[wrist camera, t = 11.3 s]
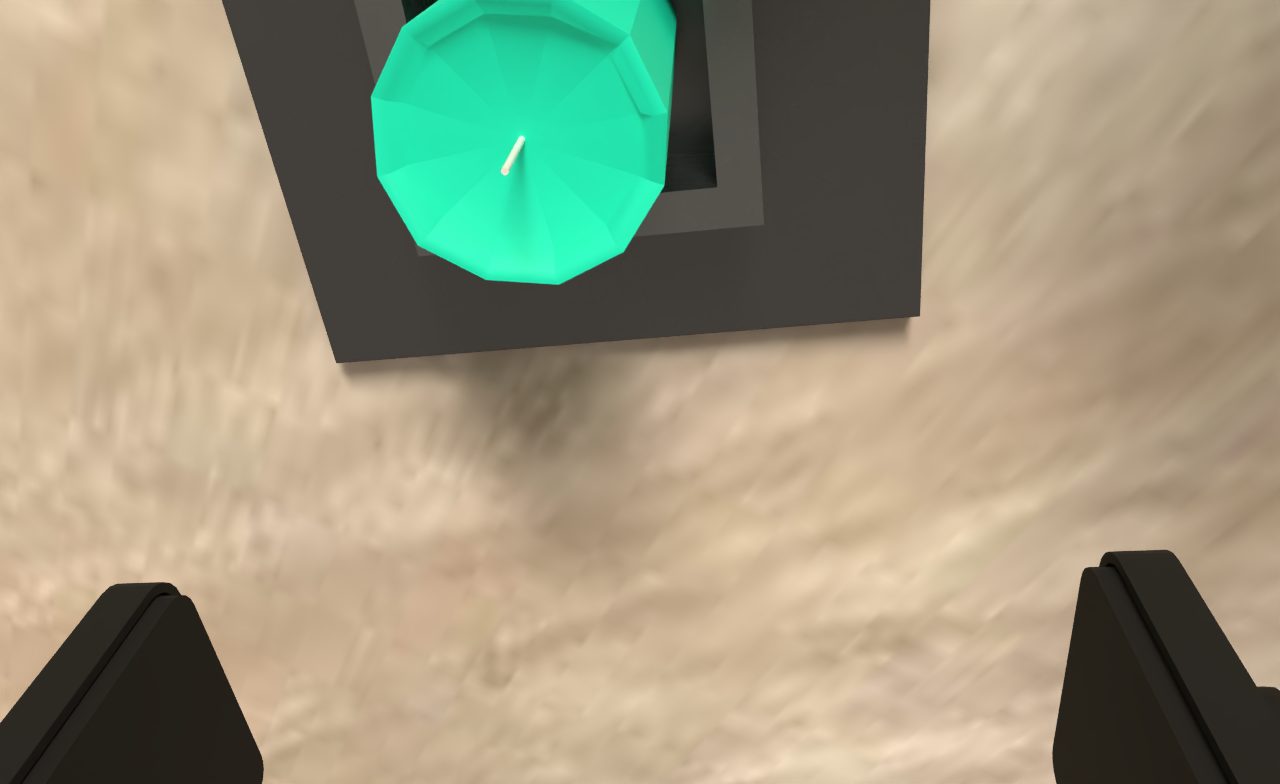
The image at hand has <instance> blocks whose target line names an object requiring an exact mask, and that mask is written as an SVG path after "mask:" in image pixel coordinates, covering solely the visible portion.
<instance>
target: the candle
mask: <svg viewBox="0 0 1280 784" xmlns="http://www.w3.org/2000/svg"><path fill="white" fill-rule="evenodd" d="M676 28H677V13H676V11H675V9H674V7H673V5H672V3H671V1H670V0H438V1H437V2H435V3H434V4H433V5H431V6H430V7H429V8H427V9H426V10H424V11H423V12H422V13H420V14H419V15H418V16H416V17H415V18H414V19H412V20H411V21H410V22H408V23H407V24H405V25H404V26H403V27H402V28H401V30H400V33H399V35H398V37H397V39H396V42H395V44H394V46H393V48H392V51H391V53H390V55H389V57H388V59H387V62H386V64H385V66H384V68H383V71H382V73H381V75H380V77H379V79H378V82H377V84H376V86H375V88H374V91H373V93H372V95H371V105H372V117H373V130H374V143H375V155H376V168H377V177H378V179H379V180H380V182H381V184H382V185H383V187H384V189H385V191H386V192H387V194H388V196H389V197H390V199H391V201H392V202H393V204H394V206H395V208H396V209H397V211H398V213H399V214H400V216H401V218H402V219H403V221H404V223H405V225H406V226H407V228H408V230H409V231H410V233H411V235H412V236H413V238H414V240H415V241H416V243H417V245H418V246H420V247H422V248H424V249H426V250H428V251H430V252H432V253H434V254H436V255H438V256H440V257H442V258H444V259H446V260H448V261H449V262H451V263H453V264H455V265H457V266H459V267H461V268H463V269H465V270H467V271H469V272H471V273H473V274H475V275H477V276H479V277H481V278H483V279H485V280H494V281H509V282H524V283H539V284H554V285H559V284H561V283H563V282H565V281H567V280H569V279H571V278H573V277H575V276H577V275H579V274H581V273H583V272H585V271H587V270H589V269H591V268H593V267H595V266H597V265H599V264H601V263H603V262H605V261H607V260H609V259H611V258H613V257H615V256H617V255H619V254H621V253H623V252H624V251H625V249H626V247H627V246H628V244H629V243H630V241H631V239H632V238H633V236H634V234H635V233H636V231H637V230H638V228H639V226H640V225H641V223H642V221H643V220H644V218H645V216H646V215H647V213H648V212H649V210H650V208H651V207H652V205H653V203H654V202H655V200H656V199H657V197H658V195H659V194H660V192H661V190H662V189H663V187H664V186H665V174H666V163H667V151H668V140H669V128H670V116H671V105H672V93H673V82H674V70H675V49H676Z"/></svg>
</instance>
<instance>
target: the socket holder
mask: <svg viewBox="0 0 1280 784" xmlns="http://www.w3.org/2000/svg"><path fill="white" fill-rule="evenodd" d="M437 1H438V0H222V2H223V5H224V8H225V12H226V15H227V18H228V21H229V24H230V27H231V31H232V34H233V37H234V40H235V43H236V46H237V50H238V53H239V56H240V59H241V62H242V65H243V69H244V72H245V75H246V78H247V81H248V84H249V88H250V91H251V94H252V97H253V100H254V103H255V107H256V110H257V113H258V116H259V119H260V122H261V126H262V129H263V132H264V135H265V138H266V142H267V145H268V148H269V151H270V154H271V157H272V161H273V164H274V167H275V170H276V173H277V176H278V180H279V183H280V186H281V189H282V192H283V195H284V199H285V202H286V205H287V208H288V211H289V214H290V218H291V221H292V224H293V227H294V230H295V233H296V237H297V240H298V243H299V246H300V249H301V252H302V256H303V259H304V262H305V265H306V268H307V271H308V275H309V278H310V281H311V284H312V287H313V290H314V294H315V297H316V300H317V303H318V306H319V309H320V313H321V316H322V319H323V322H324V325H325V328H326V332H327V335H328V338H329V341H330V344H331V347H332V351H333V354H334V357H335V360H336V363H345V362H357V361H370V360H382V359H395V358H407V357H419V356H432V355H444V354H457V353H469V352H482V351H494V350H506V349H519V348H531V347H544V346H556V345H568V344H581V343H593V342H606V341H618V340H631V339H643V338H655V337H668V336H680V335H693V334H705V333H717V332H730V331H742V330H755V329H767V328H780V327H792V326H804V325H817V324H829V323H842V322H854V321H866V320H879V319H891V318H904V317H916V316H920V298H921V267H922V237H923V206H924V176H925V145H926V115H927V85H928V54H929V24H930V0H670V1H671V3H672V5H673V7H674V9H675V11H676V13H677V28H676V49H675V70H674V82H673V93H672V105H671V116H670V128H669V140H668V151H667V163H666V174H665V186H664V187H663V189H662V190H661V192H660V194H659V195H658V197H657V199H656V200H655V202H654V203H653V205H652V207H651V208H650V210H649V212H648V213H647V215H646V216H645V218H644V220H643V221H642V223H641V225H640V226H639V228H638V230H637V231H636V233H635V234H634V236H633V238H632V239H631V241H630V243H629V244H628V246H627V247H626V249H625V251H624V252H623V253H621V254H619V255H617V256H615V257H613V258H611V259H609V260H607V261H605V262H603V263H601V264H599V265H597V266H595V267H593V268H591V269H589V270H587V271H585V272H583V273H581V274H579V275H577V276H575V277H573V278H571V279H569V280H567V281H565V282H563V283H561V284H559V285H554V284H539V283H524V282H509V281H494V280H485V279H483V278H481V277H479V276H477V275H475V274H473V273H471V272H469V271H467V270H465V269H463V268H461V267H459V266H457V265H455V264H453V263H451V262H449V261H448V260H446V259H444V258H442V257H440V256H438V255H436V254H434V253H432V252H430V251H428V250H426V249H424V248H422V247H420V246H418V245H417V243H416V241H415V240H414V238H413V236H412V235H411V233H410V231H409V230H408V228H407V226H406V225H405V223H404V221H403V219H402V218H401V216H400V214H399V213H398V211H397V209H396V208H395V206H394V204H393V202H392V201H391V199H390V197H389V196H388V194H387V192H386V191H385V189H384V187H383V185H382V184H381V182H380V180H379V179H378V177H377V168H376V155H375V143H374V130H373V117H372V105H371V95H372V93H373V91H374V88H375V86H376V84H377V82H378V79H379V77H380V75H381V73H382V71H383V68H384V66H385V64H386V62H387V59H388V57H389V55H390V53H391V51H392V48H393V46H394V44H395V42H396V39H397V37H398V35H399V33H400V30H401V28H402V27H403V26H404V25H405V24H407V23H408V22H410V21H411V20H412V19H414V18H415V17H416V16H418V15H419V14H420V13H422V12H423V11H424V10H426V9H427V8H429V7H430V6H431V5H433V4H434V3H435V2H437Z"/></svg>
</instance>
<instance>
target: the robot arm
mask: <svg viewBox="0 0 1280 784" xmlns="http://www.w3.org/2000/svg"><path fill="white" fill-rule="evenodd" d="M1052 754H1053V768H1054V774H1055V779H1056V783H1057V784H1280V691H1279V690H1278V689H1277V688H1274V687H1257V686H1256V685H1255V683H1254V682H1253V680H1252V678H1251V677H1250V675H1249V673H1248V672H1247V670H1246V669H1245V667H1244V665H1243V664H1242V662H1241V660H1240V659H1239V657H1238V655H1237V654H1236V652H1235V651H1234V649H1233V647H1232V646H1231V644H1230V642H1229V641H1228V639H1227V638H1226V636H1225V634H1224V633H1223V631H1222V629H1221V628H1220V626H1219V625H1218V623H1217V621H1216V620H1215V618H1214V616H1213V615H1212V613H1211V612H1210V610H1209V608H1208V607H1207V605H1206V603H1205V602H1204V600H1203V599H1202V597H1201V595H1200V594H1199V592H1198V590H1197V589H1196V587H1195V586H1194V584H1193V582H1192V581H1191V579H1190V577H1189V576H1188V574H1187V573H1186V571H1185V569H1184V568H1183V566H1182V564H1181V563H1180V561H1179V560H1178V558H1177V557H1176V556H1175V555H1174V554H1173V553H1172V552H1170V551H1168V550H1147V551H1116V552H1107V553H1105V554H1104V555H1103V557H1102V558H1101V562H1100V565H1099V567H1088V568H1085V569H1084V571H1083V573H1082V577H1081V581H1080V587H1079V593H1078V599H1077V605H1076V611H1075V617H1074V623H1073V629H1072V635H1071V641H1070V647H1069V653H1068V659H1067V665H1066V671H1065V677H1064V683H1063V689H1062V695H1061V701H1060V707H1059V713H1058V719H1057V725H1056V731H1055V737H1054V743H1053V753H1052ZM263 771H264V767H263V760H262V756H261V754H260V751H259V749H258V747H257V745H256V742H255V740H254V738H253V736H252V733H251V731H250V729H249V727H248V724H247V722H246V720H245V718H244V715H243V713H242V711H241V709H240V706H239V704H238V702H237V700H236V697H235V695H234V693H233V691H232V688H231V686H230V684H229V682H228V679H227V677H226V675H225V673H224V670H223V668H222V666H221V664H220V661H219V659H218V657H217V655H216V652H215V650H214V648H213V646H212V643H211V641H210V639H209V637H208V634H207V632H206V630H205V628H204V625H203V623H202V621H201V619H200V617H199V614H198V612H197V610H196V608H195V605H194V603H193V602H192V600H191V599H190V598H189V597H187V596H185V595H181V594H180V593H179V591H178V590H177V588H176V587H175V586H173V585H172V584H171V583H164V582H158V583H127V584H116V585H113V586H111V587H109V588H108V589H107V590H106V591H105V592H104V593H103V594H102V595H101V596H100V597H99V599H98V600H97V601H96V602H95V604H94V605H93V606H92V607H91V609H90V610H89V611H88V612H87V614H86V615H85V616H84V618H83V619H82V620H81V621H80V623H79V624H78V625H77V626H76V628H75V629H74V630H73V632H72V633H71V634H70V635H69V637H68V638H67V639H66V640H65V642H64V643H63V644H62V645H61V647H60V648H59V649H58V651H57V652H56V653H55V654H54V656H53V657H52V658H51V659H50V661H49V662H48V663H47V664H46V666H45V667H44V668H43V670H42V671H41V672H40V673H39V675H38V676H37V677H36V678H35V680H34V681H33V682H32V684H31V685H30V686H29V687H28V689H27V690H26V691H25V692H24V694H23V695H22V696H21V697H20V699H19V700H18V701H17V703H16V704H15V705H14V706H13V708H12V709H11V710H10V711H9V713H8V714H7V715H6V717H5V718H4V719H3V720H2V722H1V723H0V784H262V780H263Z"/></svg>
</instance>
